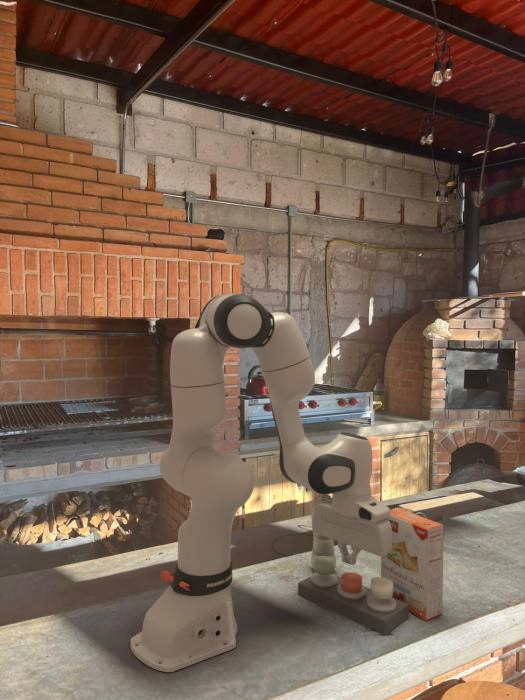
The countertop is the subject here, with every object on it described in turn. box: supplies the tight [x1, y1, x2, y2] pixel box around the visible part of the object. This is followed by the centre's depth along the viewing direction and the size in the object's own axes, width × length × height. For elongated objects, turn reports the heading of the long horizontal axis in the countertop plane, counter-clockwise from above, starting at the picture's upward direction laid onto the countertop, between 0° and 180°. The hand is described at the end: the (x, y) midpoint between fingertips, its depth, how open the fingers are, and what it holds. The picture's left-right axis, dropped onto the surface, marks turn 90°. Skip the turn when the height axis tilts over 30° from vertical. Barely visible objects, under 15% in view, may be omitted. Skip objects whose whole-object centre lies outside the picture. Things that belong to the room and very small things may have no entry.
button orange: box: [340, 571, 363, 593], centre depth 124 cm, size 5×5×3 cm
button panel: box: [297, 572, 410, 636], centre depth 124 cm, size 10×24×4 cm, turn 46°
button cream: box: [370, 576, 393, 599], centre depth 118 cm, size 5×5×3 cm
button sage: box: [313, 556, 335, 575], centre depth 129 cm, size 5×5×3 cm
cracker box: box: [380, 507, 445, 622], centre depth 124 cm, size 14×6×21 cm, turn 33°
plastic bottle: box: [310, 494, 337, 570], centre depth 142 cm, size 6×7×20 cm
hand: (348, 562), depth 124 cm, fingers closed
